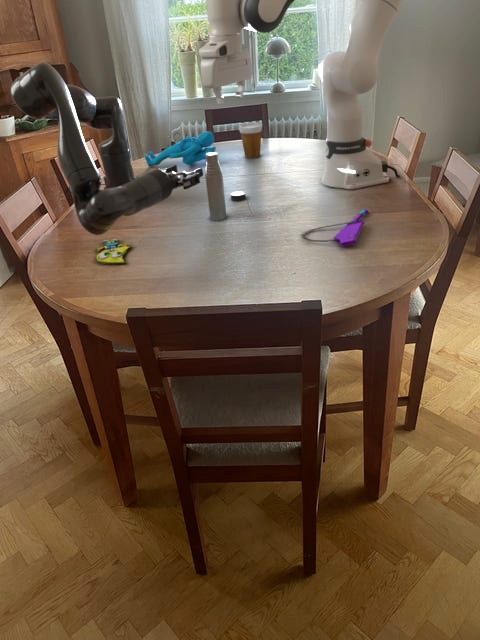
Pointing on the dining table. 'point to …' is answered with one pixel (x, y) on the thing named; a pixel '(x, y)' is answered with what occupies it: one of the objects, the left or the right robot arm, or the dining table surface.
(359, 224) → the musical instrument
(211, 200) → the bottle
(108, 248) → the toy
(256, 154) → the beer glass
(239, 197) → the cap
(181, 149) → the toy
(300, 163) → the dining table surface
